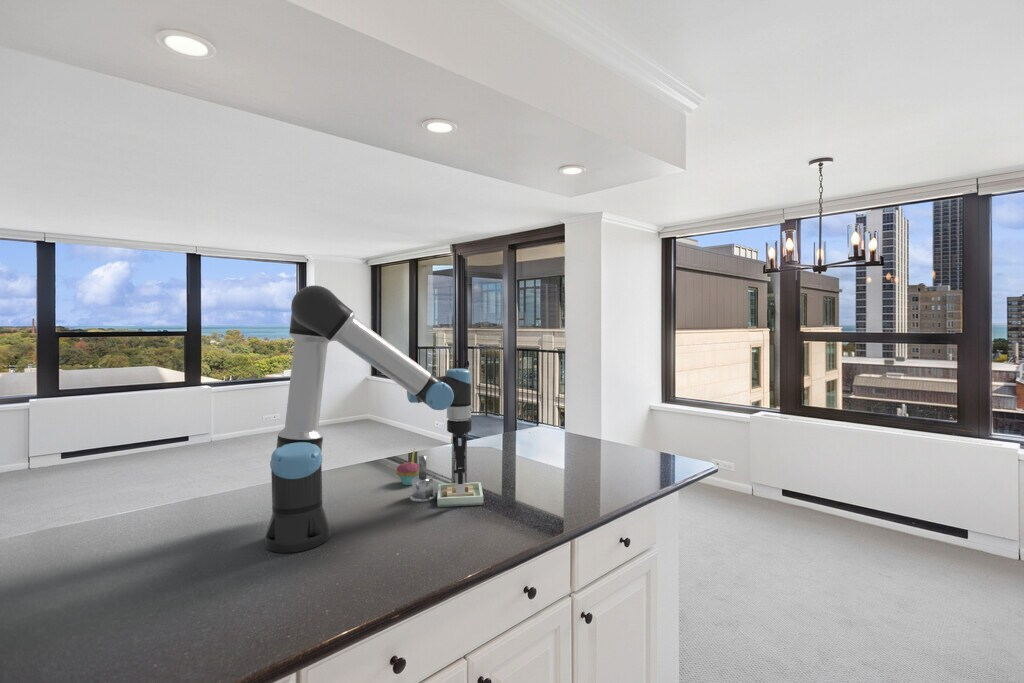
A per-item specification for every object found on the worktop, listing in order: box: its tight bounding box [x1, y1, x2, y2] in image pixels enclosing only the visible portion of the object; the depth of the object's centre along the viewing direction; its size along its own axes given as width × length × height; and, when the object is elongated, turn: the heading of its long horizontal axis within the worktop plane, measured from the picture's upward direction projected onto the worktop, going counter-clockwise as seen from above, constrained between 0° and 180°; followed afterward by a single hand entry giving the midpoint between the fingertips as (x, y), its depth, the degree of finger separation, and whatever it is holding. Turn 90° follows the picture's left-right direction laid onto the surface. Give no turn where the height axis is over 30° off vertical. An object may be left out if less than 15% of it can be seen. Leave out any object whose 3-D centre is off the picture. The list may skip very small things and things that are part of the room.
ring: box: [442, 485, 474, 497], centre depth 157 cm, size 8×10×2 cm
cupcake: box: [395, 448, 419, 486], centre depth 172 cm, size 9×8×12 cm
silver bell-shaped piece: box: [409, 454, 437, 503], centre depth 157 cm, size 8×8×13 cm
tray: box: [436, 481, 484, 508], centre depth 157 cm, size 14×14×2 cm
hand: (460, 486), depth 157 cm, fingers open, 13 cm apart
